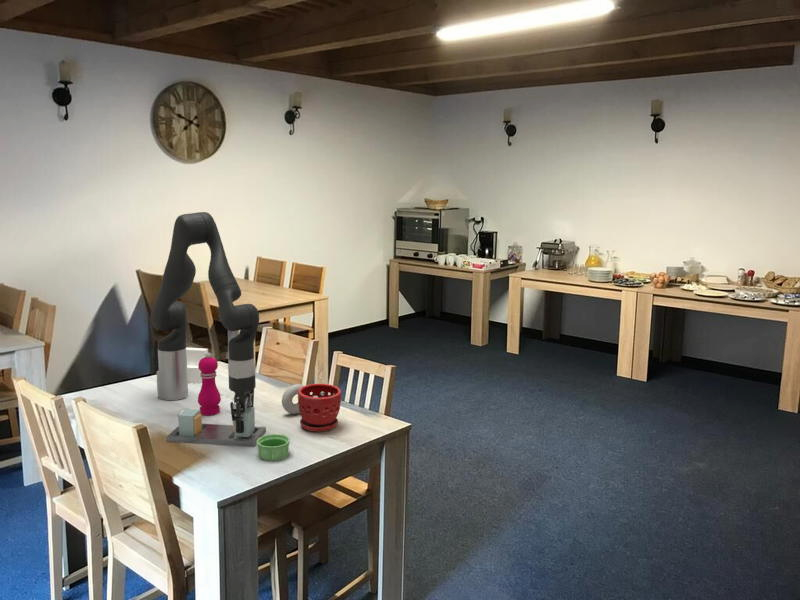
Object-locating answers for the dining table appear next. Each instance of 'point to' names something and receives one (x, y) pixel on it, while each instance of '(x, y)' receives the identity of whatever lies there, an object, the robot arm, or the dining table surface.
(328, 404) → the plant pot
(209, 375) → the pepper mill
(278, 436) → the ramekin
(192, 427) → the sage green block
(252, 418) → the grey-green block
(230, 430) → the grey rectangular tray
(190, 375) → the base with upright slab
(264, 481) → the dining table surface
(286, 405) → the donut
